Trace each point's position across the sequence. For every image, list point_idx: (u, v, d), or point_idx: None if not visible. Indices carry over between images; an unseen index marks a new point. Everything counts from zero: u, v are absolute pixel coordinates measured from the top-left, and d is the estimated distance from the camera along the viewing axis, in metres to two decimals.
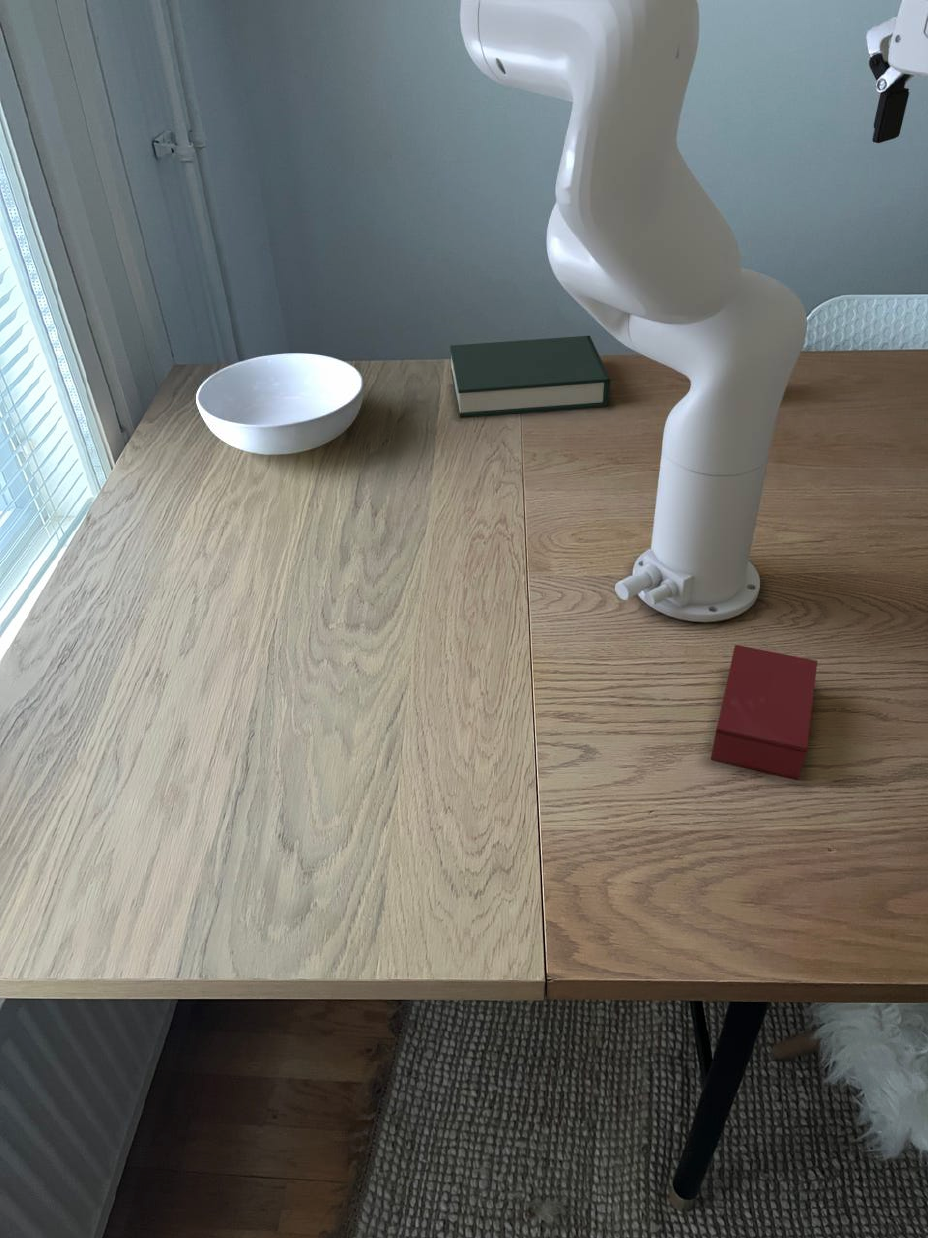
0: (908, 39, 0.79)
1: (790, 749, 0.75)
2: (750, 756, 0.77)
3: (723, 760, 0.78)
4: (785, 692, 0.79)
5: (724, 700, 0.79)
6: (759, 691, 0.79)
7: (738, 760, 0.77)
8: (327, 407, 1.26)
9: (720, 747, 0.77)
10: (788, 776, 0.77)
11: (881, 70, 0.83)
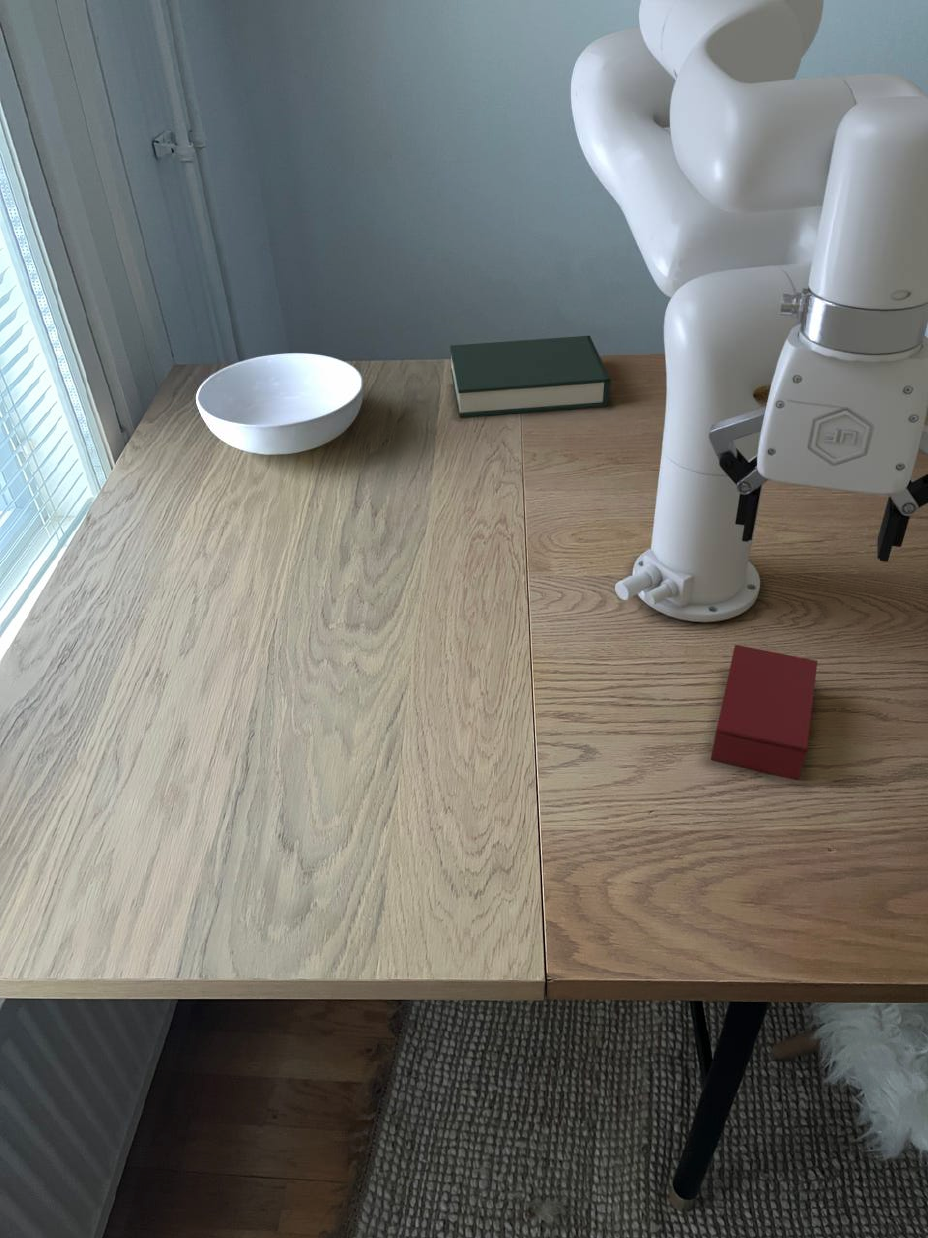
0: (787, 453, 0.65)
1: (790, 749, 0.75)
2: (750, 756, 0.77)
3: (723, 760, 0.78)
4: (785, 692, 0.79)
5: (724, 700, 0.79)
6: (759, 691, 0.79)
7: (738, 760, 0.77)
8: (327, 407, 1.26)
9: (720, 747, 0.77)
10: (788, 776, 0.77)
11: (738, 471, 0.69)
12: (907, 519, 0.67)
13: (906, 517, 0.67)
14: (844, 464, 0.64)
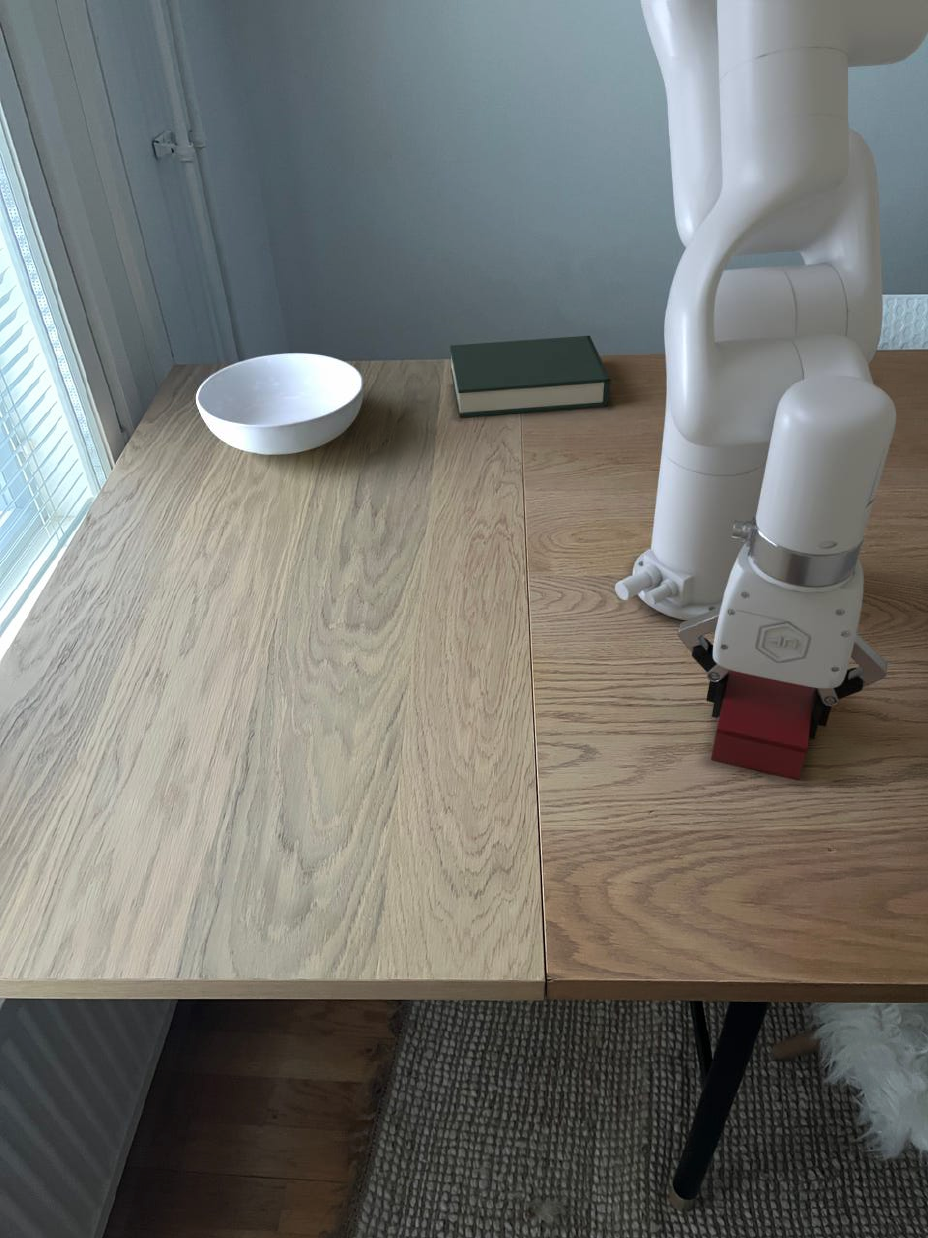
0: (738, 650, 0.74)
1: (790, 749, 0.75)
2: (751, 756, 0.77)
3: (723, 760, 0.78)
4: (785, 692, 0.79)
5: (724, 700, 0.79)
6: (759, 691, 0.79)
7: (738, 760, 0.77)
8: (327, 407, 1.26)
9: (720, 747, 0.77)
10: (788, 776, 0.77)
11: (708, 662, 0.78)
12: (830, 707, 0.77)
13: (829, 705, 0.77)
14: (787, 663, 0.73)
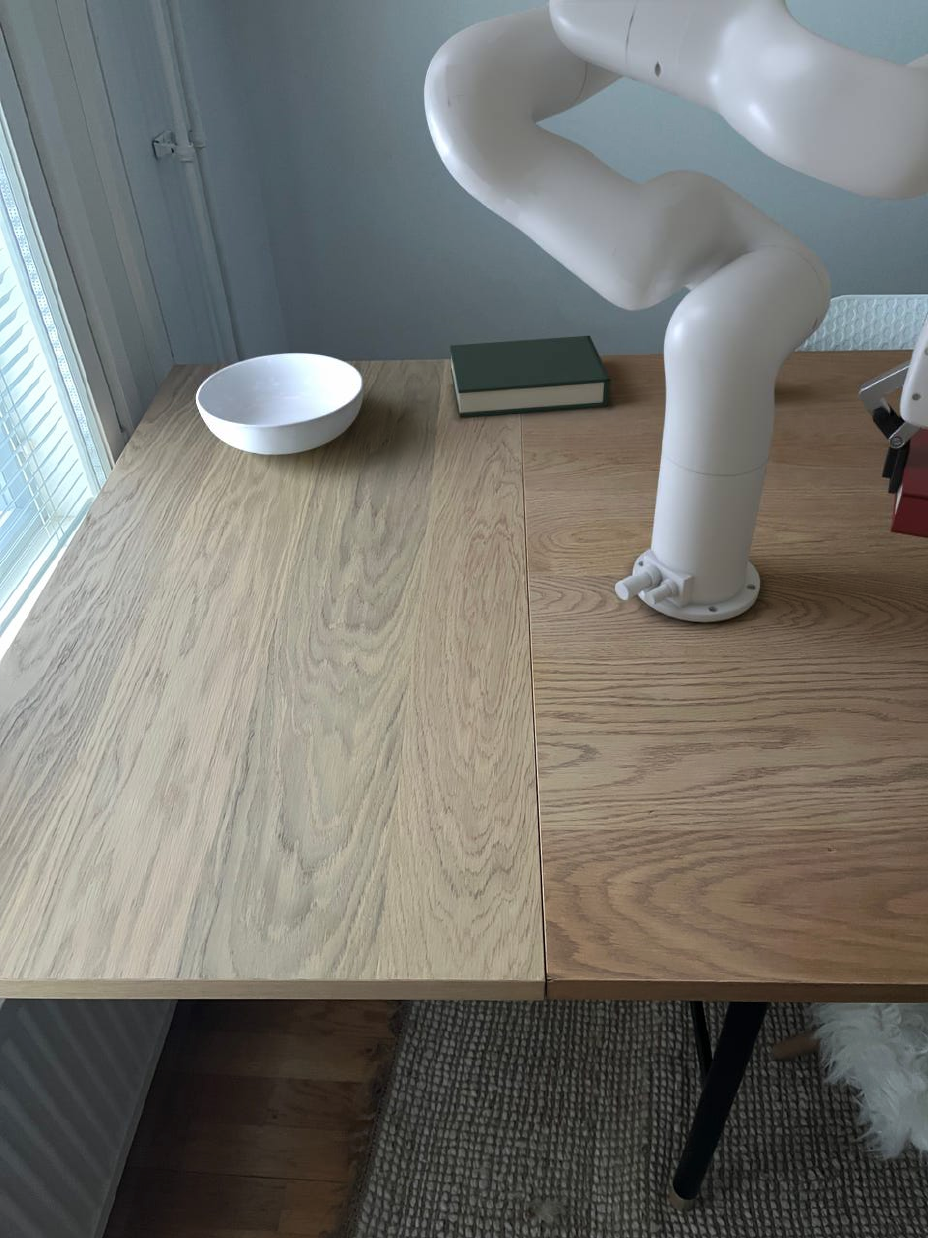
0: None
1: None
2: None
3: (905, 531, 0.73)
4: None
5: (906, 469, 0.74)
6: None
7: (922, 529, 0.72)
8: (327, 407, 1.26)
9: (903, 514, 0.72)
10: None
11: (890, 426, 0.73)
12: None
13: None
14: None
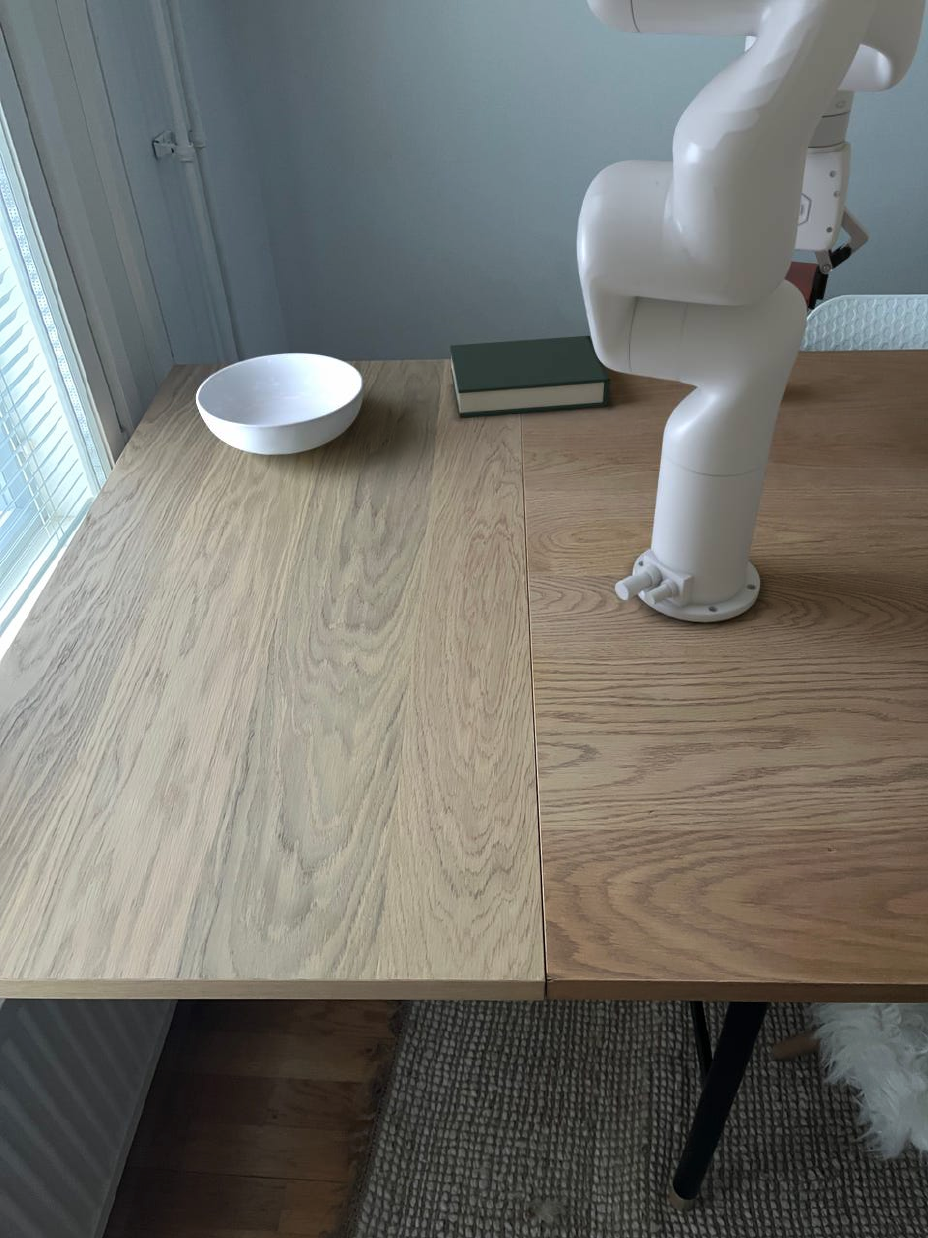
0: None
1: None
2: None
3: None
4: (793, 277, 1.05)
5: None
6: None
7: None
8: (327, 407, 1.26)
9: None
10: None
11: None
12: (826, 277, 1.03)
13: (825, 276, 1.02)
14: None
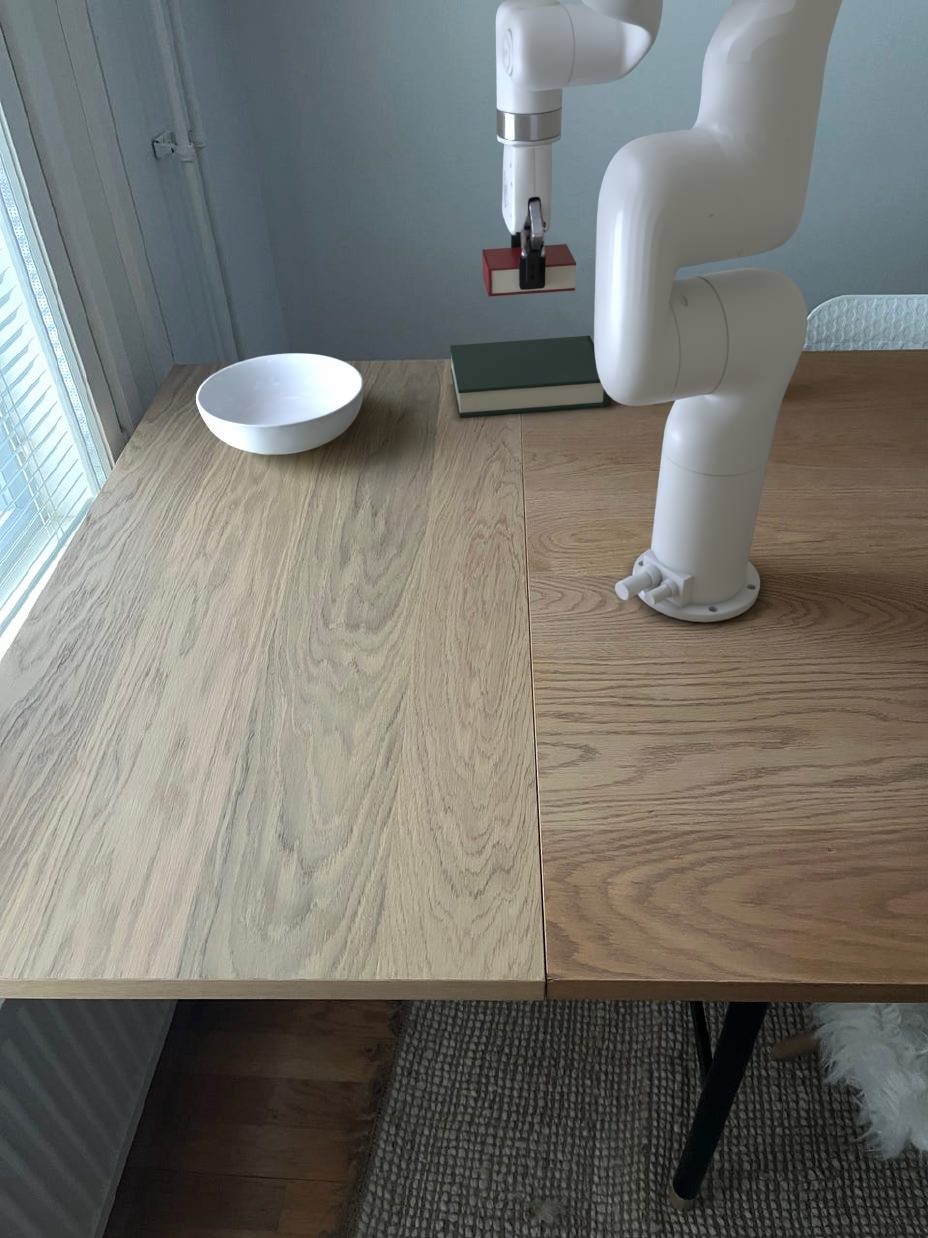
0: None
1: (487, 267, 1.18)
2: (485, 273, 1.21)
3: (483, 277, 1.24)
4: None
5: None
6: None
7: (484, 277, 1.22)
8: (327, 407, 1.26)
9: None
10: (488, 292, 1.20)
11: None
12: (526, 263, 1.16)
13: (526, 262, 1.16)
14: (506, 208, 1.15)
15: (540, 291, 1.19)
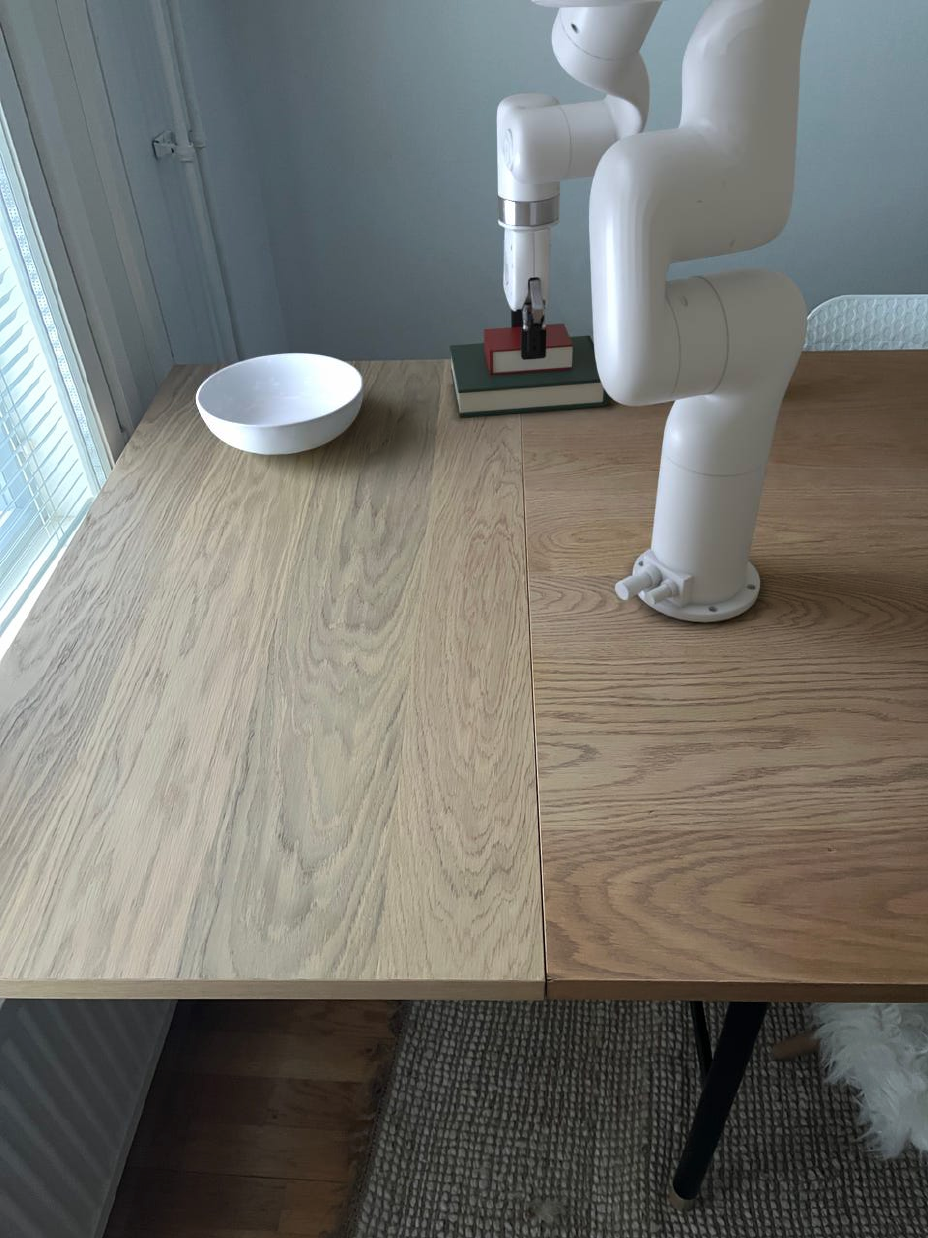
0: None
1: (488, 348, 1.25)
2: (486, 352, 1.28)
3: (485, 354, 1.30)
4: None
5: (510, 327, 1.29)
6: None
7: (486, 355, 1.29)
8: (327, 407, 1.26)
9: (484, 343, 1.30)
10: (489, 371, 1.26)
11: None
12: (528, 335, 1.20)
13: (528, 334, 1.20)
14: (507, 285, 1.21)
15: (539, 370, 1.26)
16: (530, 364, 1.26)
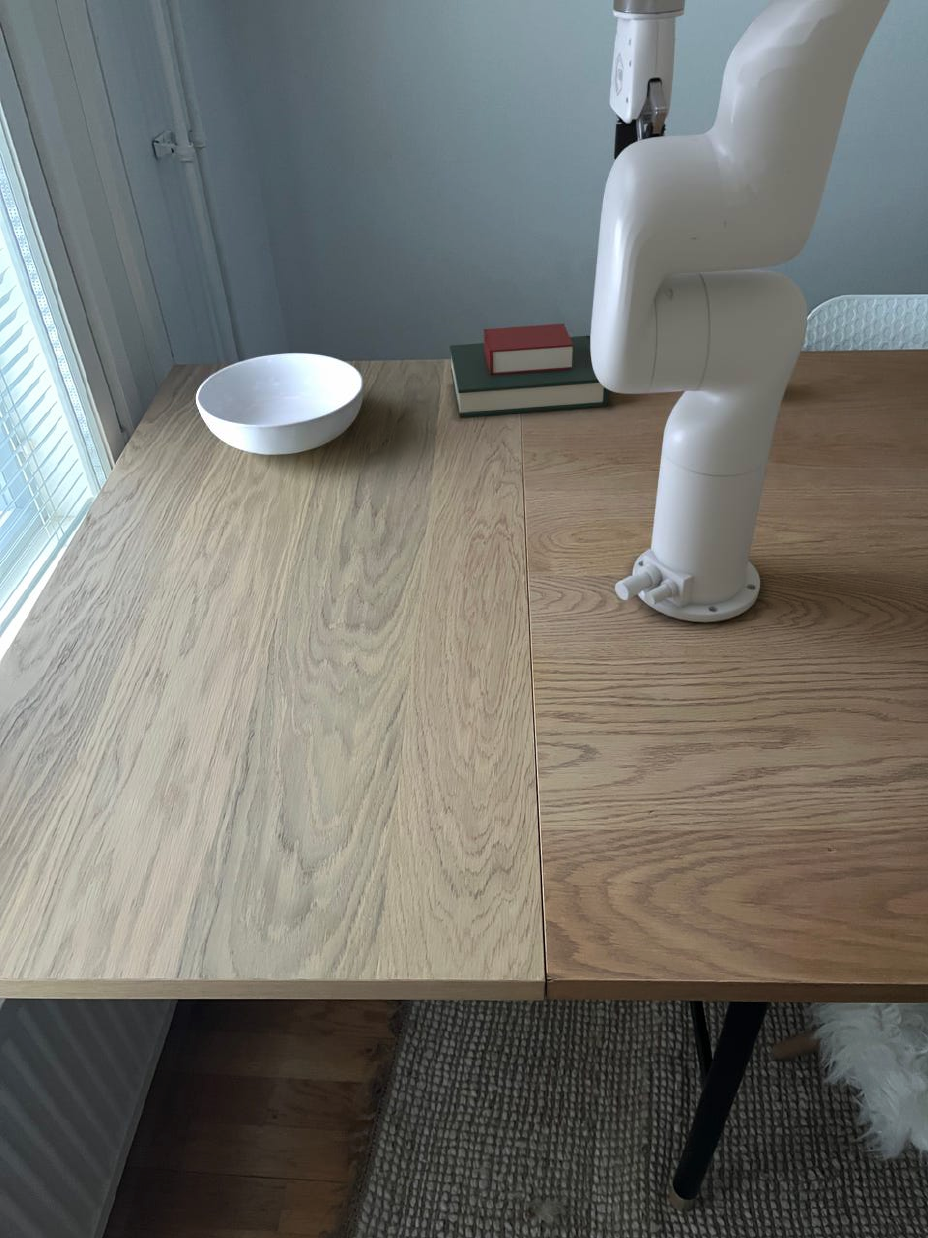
0: (612, 85, 1.09)
1: (488, 348, 1.25)
2: (486, 352, 1.28)
3: (485, 354, 1.30)
4: (533, 340, 1.26)
5: (510, 327, 1.29)
6: (527, 334, 1.27)
7: (486, 355, 1.29)
8: (327, 407, 1.26)
9: (484, 343, 1.30)
10: (489, 371, 1.26)
11: None
12: None
13: None
14: (618, 95, 1.06)
15: (539, 370, 1.26)
16: (530, 364, 1.26)
